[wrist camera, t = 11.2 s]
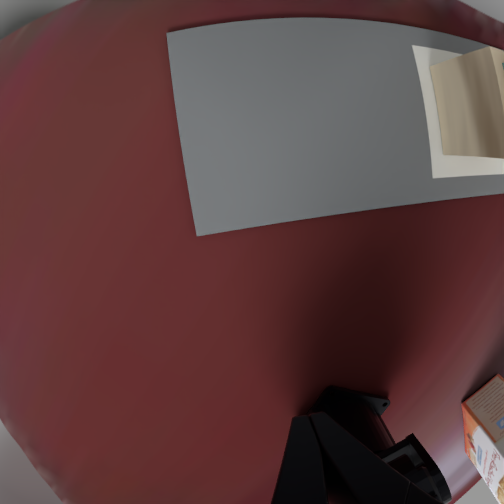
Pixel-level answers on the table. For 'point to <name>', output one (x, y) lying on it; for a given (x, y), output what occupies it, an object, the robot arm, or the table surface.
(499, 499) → the cracker box
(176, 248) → the table surface
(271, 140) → the mat
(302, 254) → the table surface
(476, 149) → the birch cube
